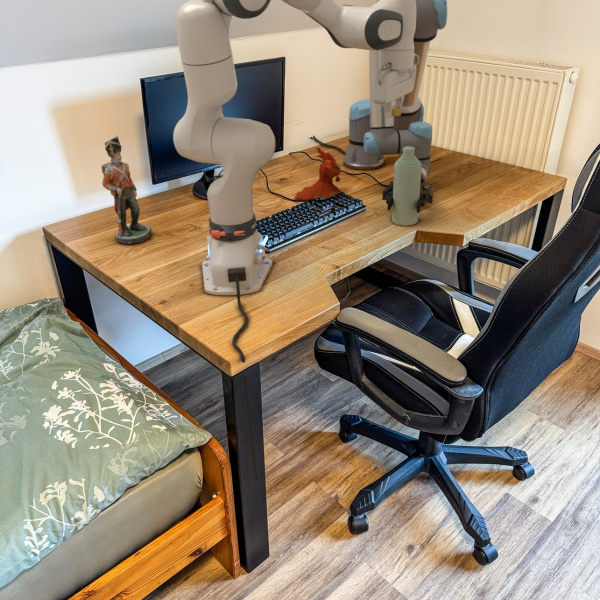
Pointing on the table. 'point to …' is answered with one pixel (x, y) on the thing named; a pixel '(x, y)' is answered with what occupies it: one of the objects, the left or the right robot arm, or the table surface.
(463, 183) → the table surface
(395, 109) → the cap
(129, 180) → the figurine
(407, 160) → the bottle
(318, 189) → the toy
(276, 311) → the table surface
